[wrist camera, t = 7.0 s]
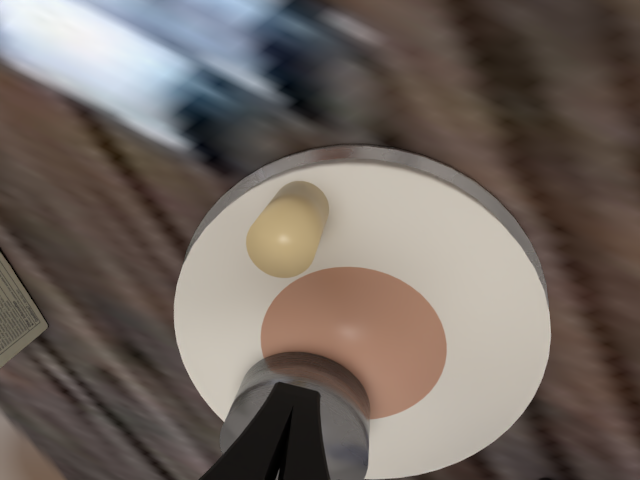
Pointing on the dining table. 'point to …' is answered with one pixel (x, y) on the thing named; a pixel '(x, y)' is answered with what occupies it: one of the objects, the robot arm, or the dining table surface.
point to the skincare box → (16, 315)
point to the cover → (335, 407)
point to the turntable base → (386, 155)
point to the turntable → (372, 304)
